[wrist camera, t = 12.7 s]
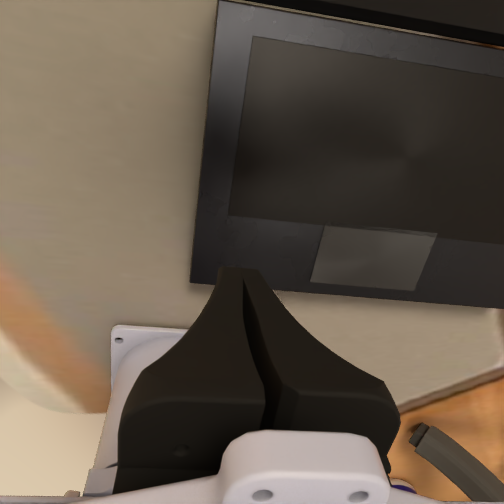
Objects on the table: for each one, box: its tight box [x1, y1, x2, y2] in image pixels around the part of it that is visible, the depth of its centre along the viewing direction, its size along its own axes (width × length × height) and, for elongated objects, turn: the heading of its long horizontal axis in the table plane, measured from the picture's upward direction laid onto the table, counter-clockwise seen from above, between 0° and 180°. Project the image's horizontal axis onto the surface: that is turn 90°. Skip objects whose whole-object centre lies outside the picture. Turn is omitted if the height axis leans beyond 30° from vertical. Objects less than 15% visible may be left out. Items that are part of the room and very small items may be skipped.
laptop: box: [189, 0, 504, 309], centre depth 23 cm, size 14×20×2 cm
